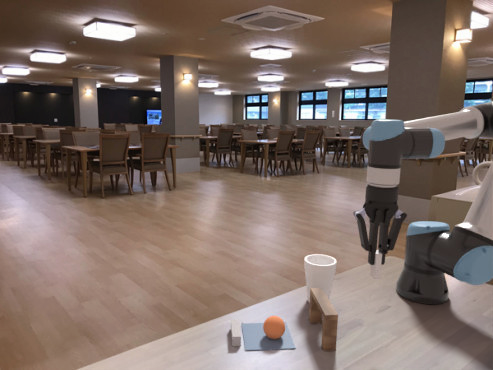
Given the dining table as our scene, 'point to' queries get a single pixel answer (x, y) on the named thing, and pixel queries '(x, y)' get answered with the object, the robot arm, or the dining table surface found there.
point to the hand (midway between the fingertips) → (375, 276)
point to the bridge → (324, 318)
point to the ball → (274, 327)
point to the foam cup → (319, 273)
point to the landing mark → (265, 338)
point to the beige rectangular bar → (235, 333)
